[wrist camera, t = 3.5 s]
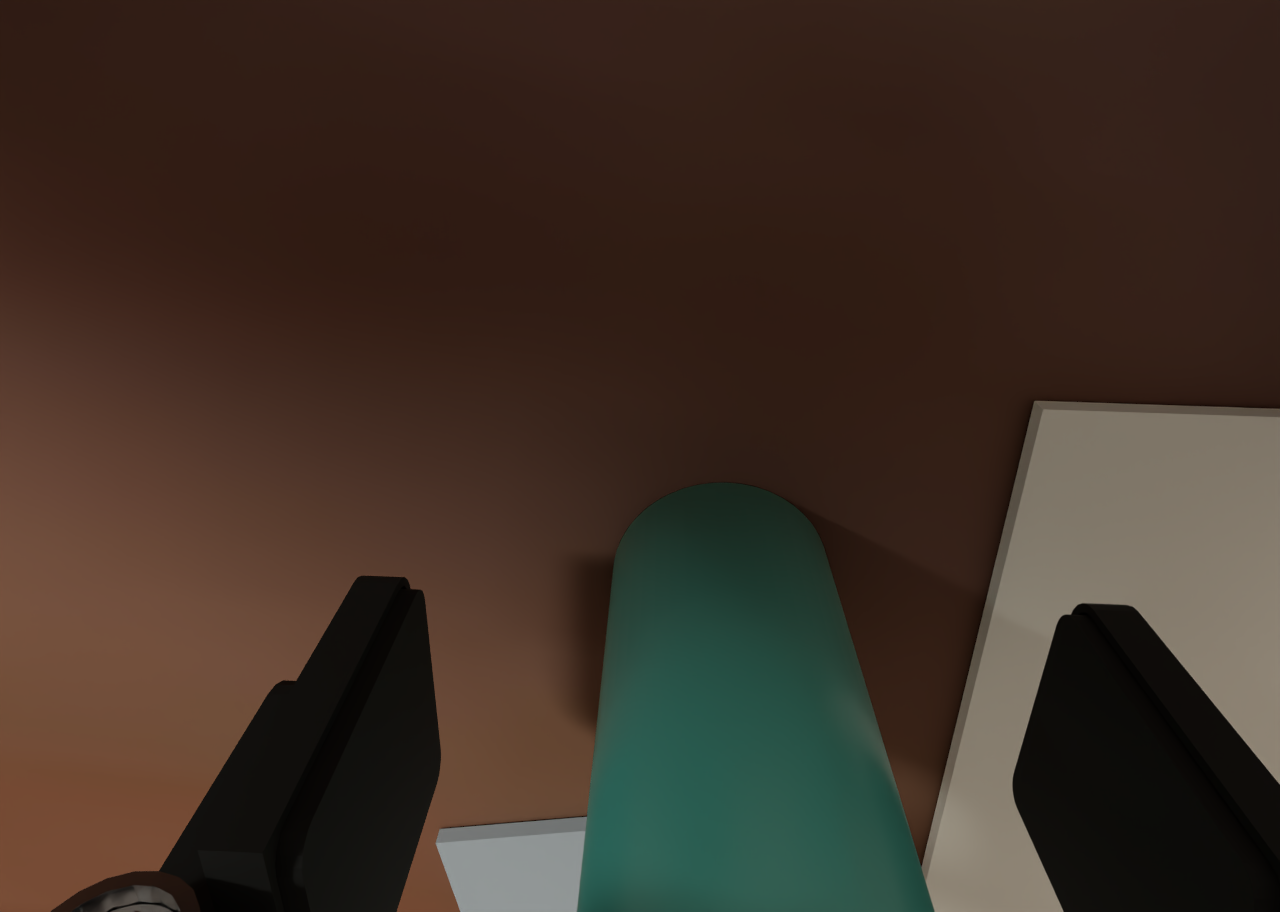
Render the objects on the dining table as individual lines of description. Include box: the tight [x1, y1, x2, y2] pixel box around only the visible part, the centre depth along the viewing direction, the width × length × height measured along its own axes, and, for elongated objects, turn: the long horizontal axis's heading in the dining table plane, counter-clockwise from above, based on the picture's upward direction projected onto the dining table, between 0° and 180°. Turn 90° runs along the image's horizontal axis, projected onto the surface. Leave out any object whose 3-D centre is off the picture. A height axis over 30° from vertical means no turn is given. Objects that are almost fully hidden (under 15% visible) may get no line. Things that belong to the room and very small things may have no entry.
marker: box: [577, 483, 935, 912], centre depth 8 cm, size 3×3×10 cm
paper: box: [921, 401, 1280, 912], centre depth 14 cm, size 14×10×1 cm
